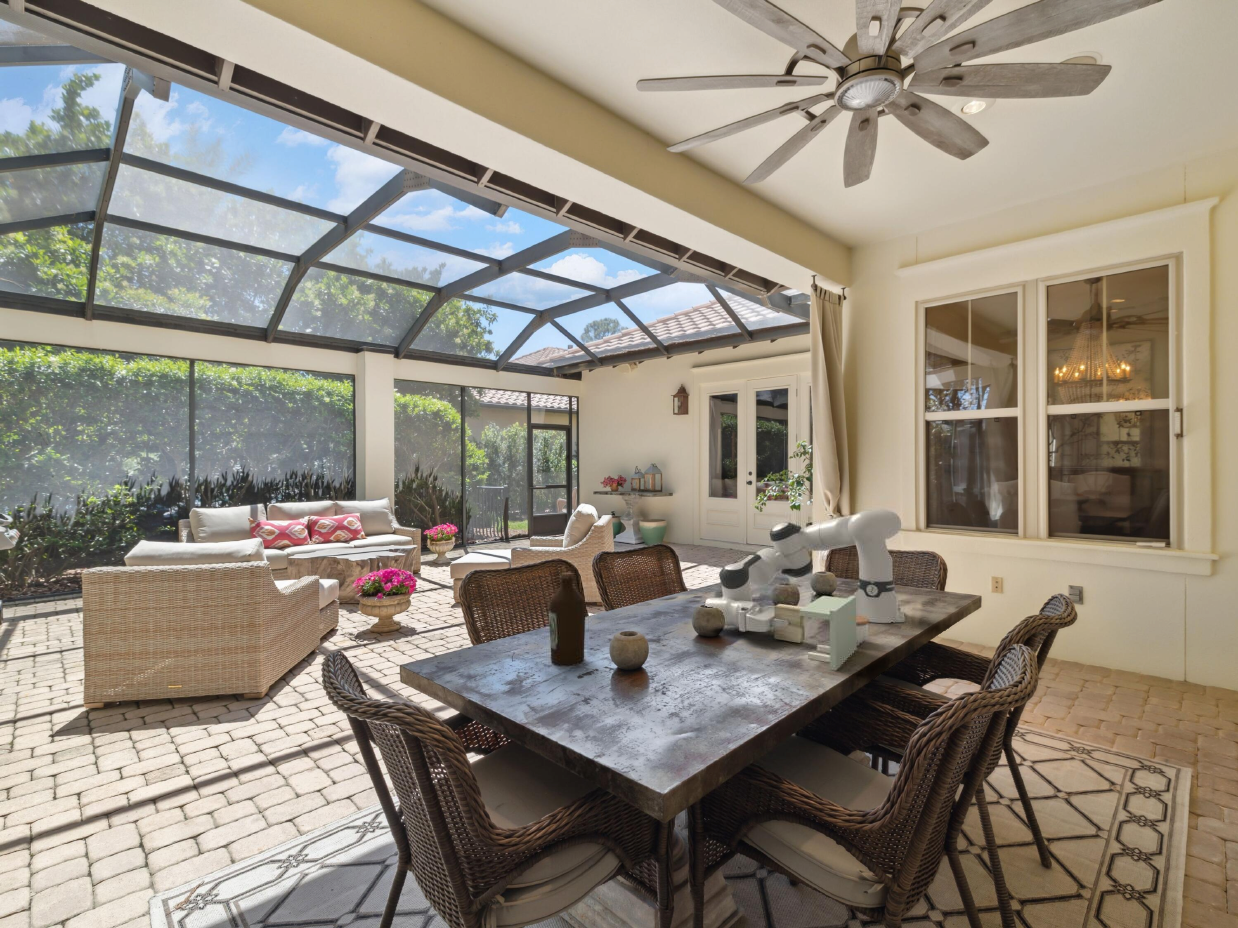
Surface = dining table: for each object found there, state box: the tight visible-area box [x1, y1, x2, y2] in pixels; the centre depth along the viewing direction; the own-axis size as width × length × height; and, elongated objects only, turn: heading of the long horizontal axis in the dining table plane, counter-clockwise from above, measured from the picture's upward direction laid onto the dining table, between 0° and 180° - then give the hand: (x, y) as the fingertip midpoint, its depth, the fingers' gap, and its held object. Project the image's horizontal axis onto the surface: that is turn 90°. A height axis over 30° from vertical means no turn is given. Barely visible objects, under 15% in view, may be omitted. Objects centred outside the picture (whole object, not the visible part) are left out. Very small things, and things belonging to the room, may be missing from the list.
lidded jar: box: [856, 615, 870, 646], centre depth 185 cm, size 11×11×9 cm
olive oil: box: [548, 571, 587, 667], centre depth 170 cm, size 11×11×25 cm
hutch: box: [799, 595, 858, 671], centre depth 172 cm, size 22×10×16 cm, turn 145°
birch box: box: [773, 603, 805, 644], centre depth 187 cm, size 4×8×10 cm, turn 55°
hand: (792, 621), depth 186 cm, fingers closed on birch box, 4 cm apart
